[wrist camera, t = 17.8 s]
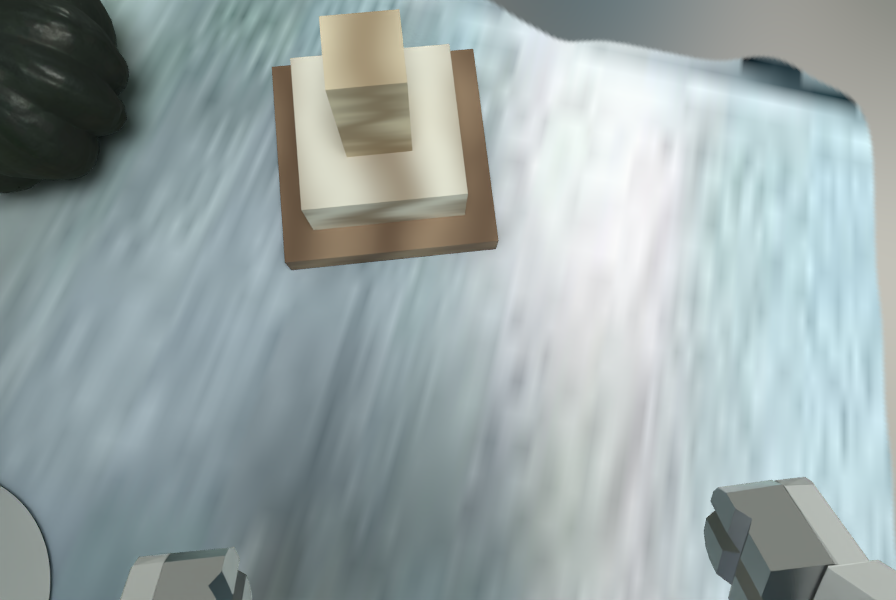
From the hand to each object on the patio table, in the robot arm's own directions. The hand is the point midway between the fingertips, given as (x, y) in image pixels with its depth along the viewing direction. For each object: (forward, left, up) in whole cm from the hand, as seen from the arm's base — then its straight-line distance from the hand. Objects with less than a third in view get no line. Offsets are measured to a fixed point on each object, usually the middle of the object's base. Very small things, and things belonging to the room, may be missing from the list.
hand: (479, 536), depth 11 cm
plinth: (-2, +20, -31) cm, 37 cm away
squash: (-25, +26, -32) cm, 48 cm away
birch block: (-2, +20, -25) cm, 33 cm away
